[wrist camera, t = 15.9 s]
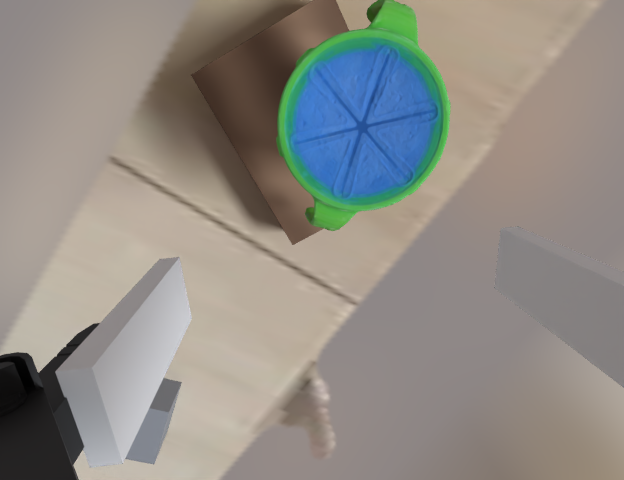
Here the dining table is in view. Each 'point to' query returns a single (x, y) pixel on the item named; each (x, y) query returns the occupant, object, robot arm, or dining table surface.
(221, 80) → the walnut block
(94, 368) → the robot arm
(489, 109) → the dining table surface
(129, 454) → the slate block
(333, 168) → the snack cup
